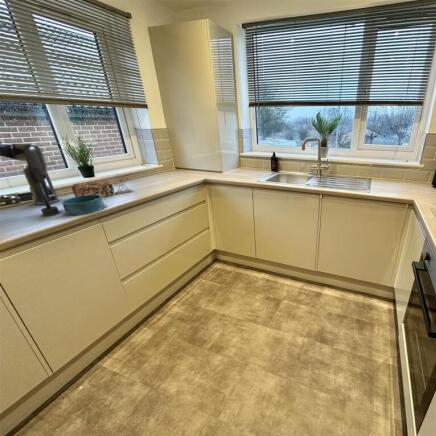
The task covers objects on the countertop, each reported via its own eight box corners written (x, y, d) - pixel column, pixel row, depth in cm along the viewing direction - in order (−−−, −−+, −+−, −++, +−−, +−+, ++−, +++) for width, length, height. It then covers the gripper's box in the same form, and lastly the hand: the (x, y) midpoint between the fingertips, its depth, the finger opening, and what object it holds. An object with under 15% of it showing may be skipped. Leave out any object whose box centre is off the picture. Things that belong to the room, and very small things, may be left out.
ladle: (40, 215, 120) (26, 184, 114) (52, 211, 126) (39, 181, 120) (50, 216, 119) (36, 184, 113) (62, 211, 125) (50, 181, 119)
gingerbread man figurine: (116, 194, 154) (111, 176, 150) (115, 193, 157) (110, 175, 152) (132, 191, 160) (127, 173, 155) (131, 190, 162) (126, 173, 158)
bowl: (57, 214, 121) (52, 203, 118) (86, 204, 136) (83, 194, 133) (85, 215, 119) (81, 204, 116) (112, 205, 134) (108, 195, 131)
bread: (78, 202, 140) (72, 185, 136) (75, 199, 146) (69, 183, 142) (116, 195, 153) (111, 179, 149) (111, 192, 159) (106, 177, 155)
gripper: (-27, 198, 99) (29, 190, 110) (-22, 192, 109) (29, 185, 119) (-18, 215, 102) (35, 206, 113) (-14, 208, 111) (35, 200, 122)
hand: (32, 195), depth 116 cm, fingers open, 8 cm apart
